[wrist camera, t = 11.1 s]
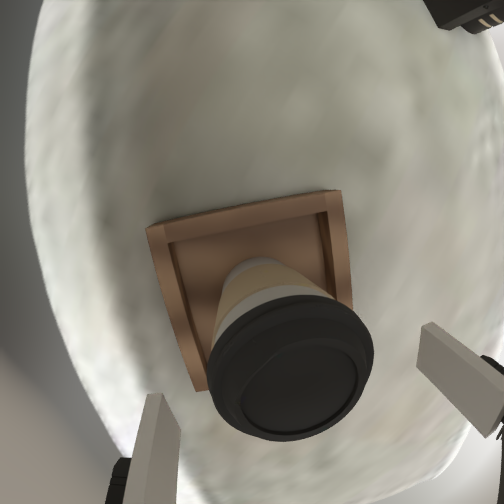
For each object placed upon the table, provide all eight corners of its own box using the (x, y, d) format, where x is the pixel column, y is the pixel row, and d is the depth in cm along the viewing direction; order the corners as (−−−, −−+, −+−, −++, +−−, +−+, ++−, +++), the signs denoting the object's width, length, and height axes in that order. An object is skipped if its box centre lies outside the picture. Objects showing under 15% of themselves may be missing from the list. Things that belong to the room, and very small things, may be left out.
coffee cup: (324, 276, 27) (420, 358, 12) (271, 350, 28) (314, 468, 13) (244, 224, 25) (286, 275, 10) (191, 308, 26) (172, 429, 11)
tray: (154, 223, 25) (145, 228, 21) (325, 189, 26) (340, 190, 23) (197, 371, 28) (195, 392, 25) (341, 338, 30) (353, 353, 26)
